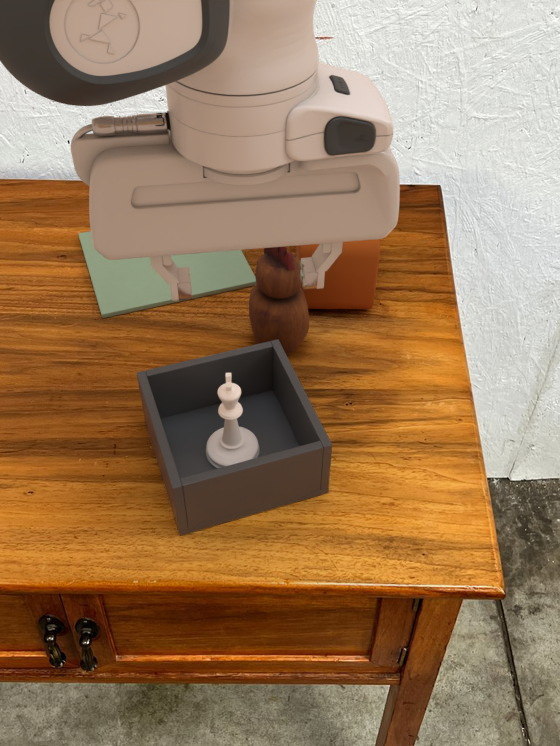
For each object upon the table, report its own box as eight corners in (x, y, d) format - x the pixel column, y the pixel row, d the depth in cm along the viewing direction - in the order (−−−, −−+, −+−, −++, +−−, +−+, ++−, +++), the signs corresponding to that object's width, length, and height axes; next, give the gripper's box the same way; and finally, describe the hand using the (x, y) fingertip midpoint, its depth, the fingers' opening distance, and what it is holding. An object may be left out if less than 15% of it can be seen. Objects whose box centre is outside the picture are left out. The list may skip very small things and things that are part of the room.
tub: (179, 536, 66) (172, 488, 61) (145, 421, 75) (136, 372, 70) (328, 493, 69) (332, 444, 64) (278, 388, 78) (278, 338, 73)
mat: (102, 318, 85) (101, 314, 85) (78, 237, 96) (77, 233, 95) (257, 285, 90) (257, 281, 89) (218, 210, 100) (218, 206, 100)
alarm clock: (372, 317, 86) (383, 231, 78) (297, 316, 86) (299, 231, 78) (357, 196, 103) (365, 116, 94) (294, 196, 102) (296, 115, 94)
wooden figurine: (243, 328, 84) (239, 210, 74) (294, 317, 86) (297, 201, 75) (261, 370, 80) (259, 252, 69) (314, 358, 81) (320, 240, 70)
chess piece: (259, 429, 73) (257, 353, 66) (259, 471, 70) (258, 396, 63) (206, 430, 73) (199, 354, 66) (204, 472, 70) (197, 397, 62)
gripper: (61, 146, 43) (100, 331, 53) (420, 124, 45) (393, 306, 55) (67, 94, 47) (102, 274, 57) (394, 76, 49) (373, 252, 59)
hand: (247, 289), depth 56 cm, fingers open, 8 cm apart
